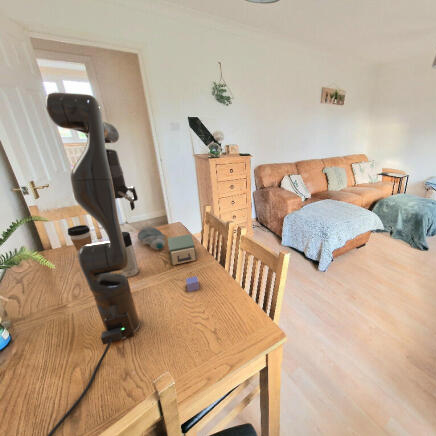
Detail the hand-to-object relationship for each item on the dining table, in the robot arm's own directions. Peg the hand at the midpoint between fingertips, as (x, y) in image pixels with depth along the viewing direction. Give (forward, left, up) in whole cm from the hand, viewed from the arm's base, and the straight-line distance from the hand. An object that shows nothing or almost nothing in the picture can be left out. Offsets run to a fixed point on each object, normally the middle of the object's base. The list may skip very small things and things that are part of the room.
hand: (121, 210), depth 106 cm
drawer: (-7, -22, -27) cm, 35 cm away
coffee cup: (+21, +22, -28) cm, 41 cm away
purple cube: (-31, -23, -28) cm, 48 cm away
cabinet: (-2, -22, -28) cm, 36 cm away
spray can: (-8, +1, -28) cm, 29 cm away
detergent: (+18, -9, -28) cm, 35 cm away
